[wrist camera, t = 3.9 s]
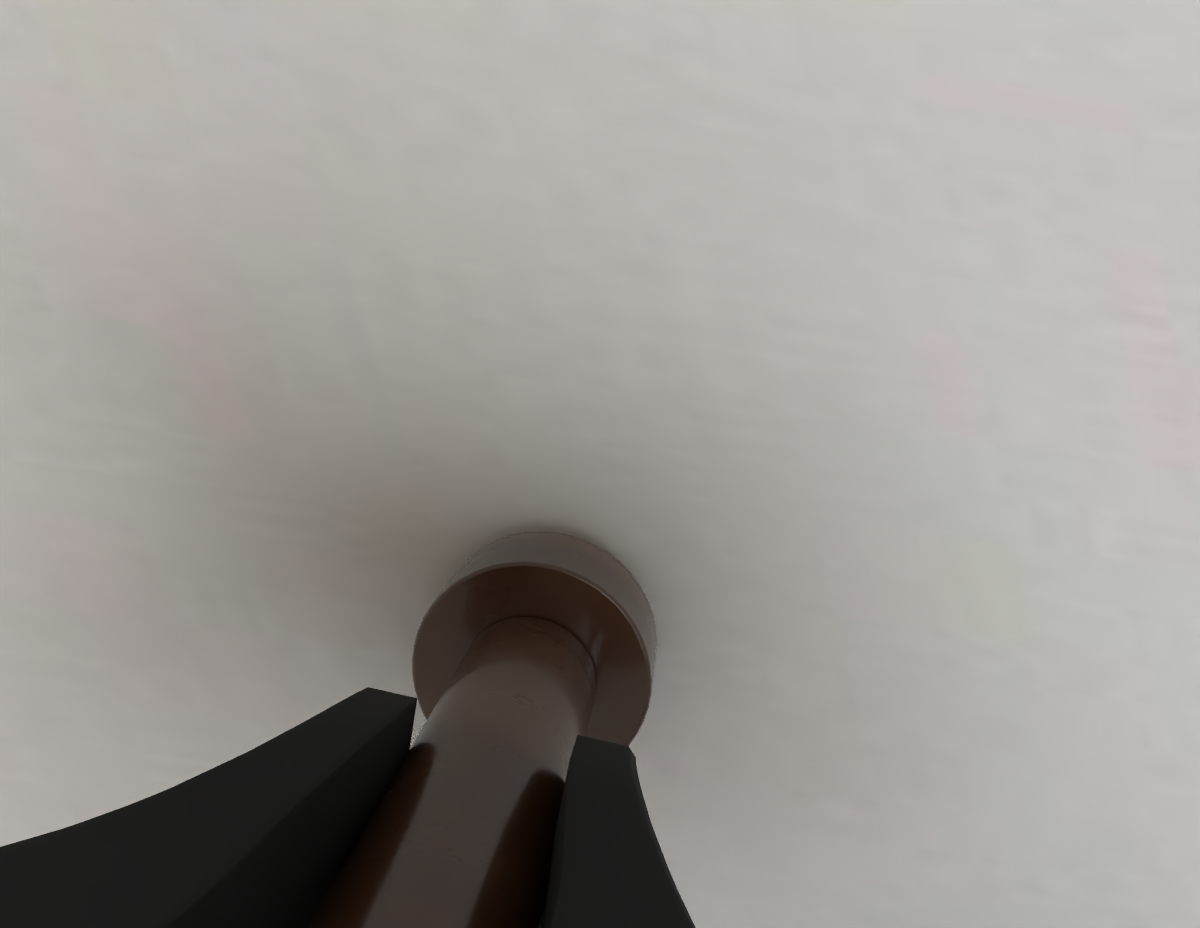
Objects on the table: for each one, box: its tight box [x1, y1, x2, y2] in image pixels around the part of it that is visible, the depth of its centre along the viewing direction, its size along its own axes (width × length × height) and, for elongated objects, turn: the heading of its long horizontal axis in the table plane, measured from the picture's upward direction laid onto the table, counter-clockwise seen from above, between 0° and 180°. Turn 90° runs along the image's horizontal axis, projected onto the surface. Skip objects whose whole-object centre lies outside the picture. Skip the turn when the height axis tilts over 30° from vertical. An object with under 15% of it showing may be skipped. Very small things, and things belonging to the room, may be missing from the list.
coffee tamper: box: [306, 532, 657, 928], centre depth 11 cm, size 4×4×8 cm
